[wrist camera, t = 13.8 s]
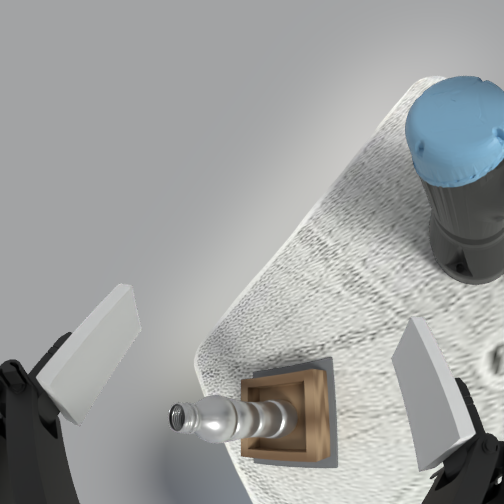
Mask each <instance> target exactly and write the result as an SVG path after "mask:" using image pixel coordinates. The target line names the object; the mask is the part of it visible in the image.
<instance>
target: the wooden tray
mask: <svg viewBox="0 0 504 504" xmlns="http://www.w3.org/2000/svg"><path fill="white" fill-rule="evenodd" d="M273 399H281V400H285V401H288V402H290V403H291V404H292V405H293V406H294V407H295V409H296V411H297V415H298V420H297V424H296V427H295V428H294V430H293V431H292V432H291V433H290V434H288V435H286V436H284V437H282V438H278V439H273V438H265V437H251V438H244V439H241V456H243V457H250V458H258V459H268V460H279V461H296V462H317V461H320V460H323V459H325V458H328V457H330V424H329V403H328V386H327V372H326V371H324V370H317V369H309V370H304V371H298V372H293V373H287V374H280V375H274V376H267V377H260V378H252V379H243V380H241V401H246V402H264V401H267V400H273Z"/></svg>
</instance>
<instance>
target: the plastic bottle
mask: <svg viewBox="0 0 504 504" xmlns="http://www.w3.org/2000/svg"><path fill="white" fill-rule="evenodd" d="M297 420H298V415H297V411H296V409H295V407H294V406H293V405H292V404H291V403H290V402H288V401H285V400H281V399H273V400H267V401H264V402H246V401H239V400H235V399H231V398H227V397H224V396H219V395H212V396H207V397H204V398H203V399H201V400H199V401H198V402H196V403H195V404H193V403H179V402H178V403H174V404H173V405H172V406H171V408H170V410H169V413H168V422H169V426H170V428H171V429H172V430H173V431H174V432H177V433H185V434H192V433H194V434H195V435H196V436H198V437H199V438H201V439H202V440H204V441H206V442H209V443H214V444H216V443H224V442H229V441H233V440H237V439H244V438H251V437H265V438H273V439H278V438H282V437H284V436H286V435H288V434H290V433H291V432H292V431H293V430H294V428H295V427H296V424H297Z"/></svg>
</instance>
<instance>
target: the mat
mask: <svg viewBox="0 0 504 504" xmlns="http://www.w3.org/2000/svg"><path fill="white" fill-rule="evenodd" d="M309 369H317V370H324V371H326V372H327V386H328V403H329V424H330V457H328V458H325V459H323V460H320V461H317V462H296V461H279V460H268V459H258V458H254V463H258V464H266V465H275V466H287V467H305V468H337V467H338V448H337V418H336V400H335V385H334V372H333V361H332V357H330V358H326V359H321V360H317V361H312V362H308V363H303V364H298V365H293V366H287V367H282V368H276V369H270V370H264V371H257V372H253V378H260V377H267V376H274V375H280V374H287V373H293V372H298V371H304V370H309Z"/></svg>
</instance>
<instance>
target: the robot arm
mask: <svg viewBox="0 0 504 504" xmlns="http://www.w3.org/2000/svg"><path fill="white" fill-rule="evenodd" d="M405 134H406V140H407V143H408V146H409V149H410V152H411V154H412V160H413V164H414V168H415V169H416V172H417V174H418V175H419V176H420V179H421V181H422V184H423V186H424V189H425V192H426V194H427V197H428V200H429V202H430V205H431V208H432V213H431V218H430V223H429V238H430V243H431V247H432V250H433V253H434V256H435V258H436V260H437V262H438V264H439V265H440V266H441V268H442V269H443V270H444V271H445V272H446V273H447V274H448V275H449V276H451V277H452V278H454V279H456V280H458V281H460V282H463V283H466V284H472V285H479V284H485V283H489V282H491V281H494V280H496V279H497V278H499V277H500V276H501V275H503V274H504V91H503V90H502V89H501V88H499V87H498V86H497V85H495V84H494V83H492V82H490V81H488V80H486V81H484V82H482V80H481V79H480V78H479V77H474V76H458V77H453V78H448V79H445V80H442V81H440V82H438V83H436V84H434V85H432V86H431V87H429V88H428V89H427V90H425V91H424V92H423V94H422V95H421V96H420V97H419V98H417V99H416V100H415V102H414V103H413V105H412V107H411V108H410V111H409V113H408V116H407V119H406V125H405ZM141 330H142V328H141V324H140V320H139V315H138V311H137V306H136V301H135V297H134V292H133V287H132V285H126V284H121V283H119V284H118V285H117V286H116V287H115V288H114V290H112V291H111V293H109V295H108V296H107V297H106V298H105V299H104V300H103V301H102V302H101V303H100V304H99V305H98V306H97V307H96V308H95V309H94V310H93V311H92V313H91V314H90V315H89V316H88V317H87V318H86V319H85V320H84V321H83V322H82V323H81V325H80V326H79V327H78V328H77V329H76V330H75V331H74V332H73V333H71V332H68V333H66V334H65V335H63V336H61V337H60V338H59V339H58V340H57V341H56V342H55V344H54V345H53V347H51V348H50V349H49V350H48V353H46V354H45V355H44V356H43V357H42V358H41V360H40V361H39V362H38V363H37V364H36V366H35V367H34V368H33V369H32V371H31V372H30V373H29V374H28V375H27V373H26V372H25V370H24V368H23V367H22V365H21V364H20V362H19V361H17V360H8V361H5V362H4V363H3V364H1V366H0V504H80V503H79V500H78V497H77V494H76V491H75V487H74V484H73V481H72V477H71V473H70V469H69V465H68V461H67V457H66V452H65V447H64V442H63V437H62V431H61V425H60V420H59V417H58V414H59V413H60V412H61V413H62V414H63V416H64V417H65V418H66V419H67V420H69V421H70V422H72V423H74V424H76V425H78V426H80V425H81V424H82V422H83V420H84V419H85V417H86V415H87V413H88V412H89V410H90V409H91V407H92V405H93V404H94V402H95V400H96V399H97V397H98V396H99V394H100V392H101V391H102V389H103V388H104V386H105V384H106V383H107V381H108V380H109V378H110V376H111V375H112V373H113V372H114V370H115V369H116V367H117V366H118V364H119V363H120V361H121V360H122V358H123V356H124V355H125V354H126V352H127V351H128V349H129V348H130V346H131V344H132V343H133V341H134V340H135V339H136V337H137V336H138V334H139V333H140V331H141ZM391 359H392V362H393V365H394V368H395V372H396V375H397V378H398V382H399V385H400V389H401V392H402V396H403V400H404V404H405V407H406V411H407V415H408V419H409V424H410V428H411V432H412V437H413V442H414V446H415V451H416V457H417V462H418V468H419V472H420V471H424V470H428V469H432V468H435V467H436V466H438V465H439V464H440V463H442V462H443V464H444V467H443V468H441V469H440V470H438V471H437V472H436V473H434V474H433V475H432V476H431V477H430V479H433V478H434V477H436V476H437V475H438V476H437V477H436V479H435V480H434V483H433V485H432V487H431V488H430V490H429V492H428V494H427V495H426V497H425V499H424V500H423V502H422V504H504V441H498V440H497V438H496V437H495V436H494V435H492V434H489V433H485V431H484V428H483V425H482V423H481V420H480V417H479V415H478V412H477V409H476V407H475V405H474V404H473V403H474V402H473V400H472V397H470V393H469V390H468V388H467V386H466V385H465V383H464V382H463V381H462V380H461V379H460V378H454V376H453V374H452V372H451V370H450V367H449V365H448V363H447V361H446V359H445V357H444V355H443V353H442V351H441V349H440V347H439V345H438V343H437V341H436V339H435V337H434V335H433V333H432V331H431V329H430V327H429V326H428V324H427V322H426V320H425V318H424V317H411V318H410V320H409V322H408V324H407V327H406V329H405V331H404V333H403V336H402V338H401V340H400V342H399V344H398V346H397V348H396V350H395V352H394V354H393V356H392V358H391ZM501 476H502V481H501V483H499V484H498V478H500V477H501Z"/></svg>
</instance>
